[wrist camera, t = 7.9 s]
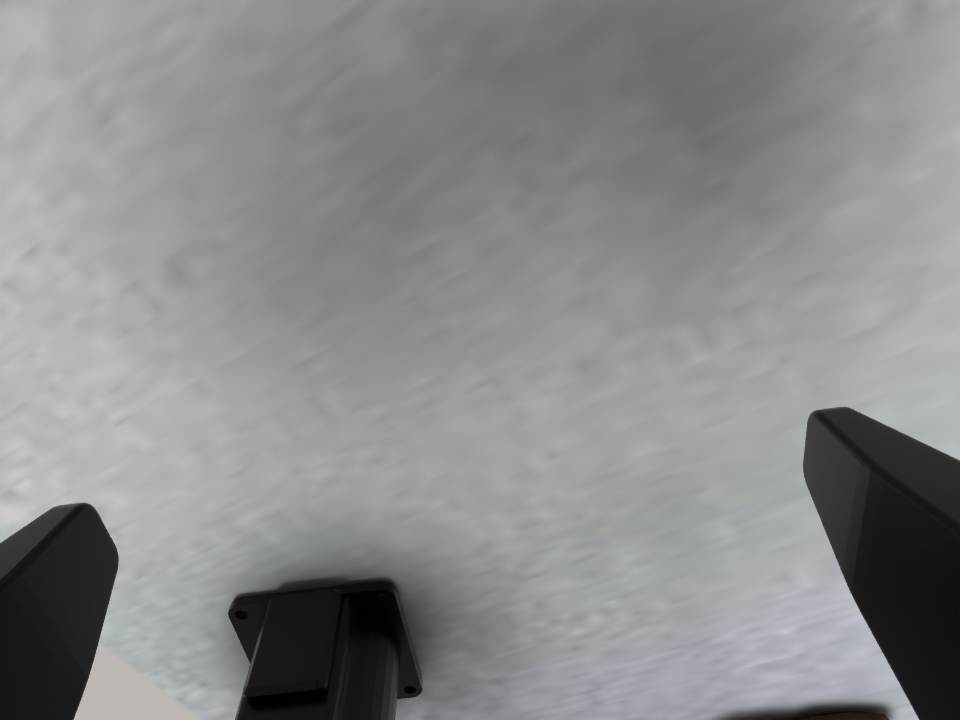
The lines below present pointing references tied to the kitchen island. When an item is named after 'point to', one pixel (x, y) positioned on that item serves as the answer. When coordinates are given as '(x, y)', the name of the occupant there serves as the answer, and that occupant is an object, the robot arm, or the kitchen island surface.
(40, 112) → the kitchen island surface
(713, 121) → the kitchen island surface
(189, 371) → the kitchen island surface
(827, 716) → the croissant
